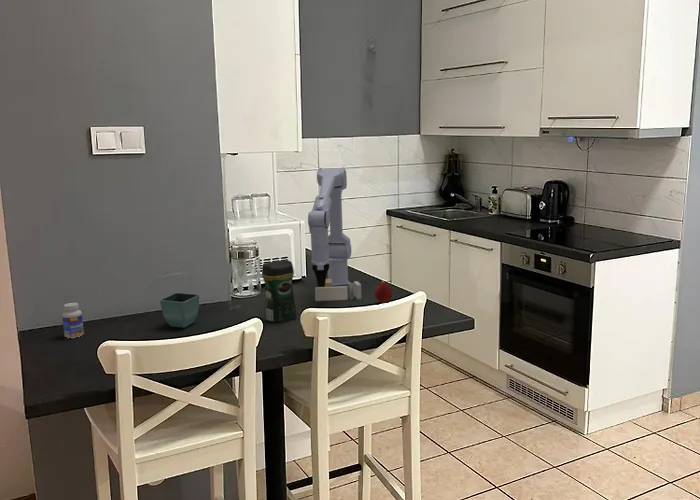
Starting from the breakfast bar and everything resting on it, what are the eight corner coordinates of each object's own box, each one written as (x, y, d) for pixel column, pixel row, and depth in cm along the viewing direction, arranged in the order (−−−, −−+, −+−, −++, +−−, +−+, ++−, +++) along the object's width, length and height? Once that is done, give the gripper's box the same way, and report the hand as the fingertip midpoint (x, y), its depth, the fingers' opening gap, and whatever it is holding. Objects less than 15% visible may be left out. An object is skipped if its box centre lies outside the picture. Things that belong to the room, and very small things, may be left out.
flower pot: (186, 330, 197) (183, 302, 195) (161, 328, 200) (158, 299, 198) (202, 322, 205) (200, 294, 203) (178, 319, 208) (175, 292, 206)
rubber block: (320, 294, 233) (320, 279, 232) (332, 293, 233) (331, 278, 232) (320, 298, 227) (320, 283, 226) (332, 298, 227) (331, 282, 226)
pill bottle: (72, 340, 191) (68, 308, 189) (60, 337, 194) (56, 305, 192) (88, 334, 196) (84, 303, 194) (76, 331, 199) (73, 300, 197)
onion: (392, 301, 221) (392, 278, 219) (392, 306, 215) (391, 282, 213) (375, 301, 221) (374, 278, 220) (374, 306, 216) (373, 282, 214)
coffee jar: (287, 313, 211) (284, 256, 208) (300, 318, 205) (297, 260, 201) (260, 319, 206) (257, 261, 202) (273, 325, 199) (270, 265, 196)
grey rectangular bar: (347, 298, 226) (347, 285, 225) (347, 299, 224) (347, 287, 223) (315, 299, 226) (315, 286, 225) (315, 301, 224) (314, 288, 223)
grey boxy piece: (361, 299, 225) (361, 283, 224) (349, 300, 224) (348, 284, 223) (358, 295, 230) (357, 279, 229) (346, 296, 229) (345, 280, 228)
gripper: (332, 250, 209) (333, 291, 212) (331, 241, 224) (333, 280, 226) (310, 251, 209) (311, 292, 212) (311, 242, 223) (312, 281, 226)
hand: (321, 286), depth 219 cm, fingers closed
